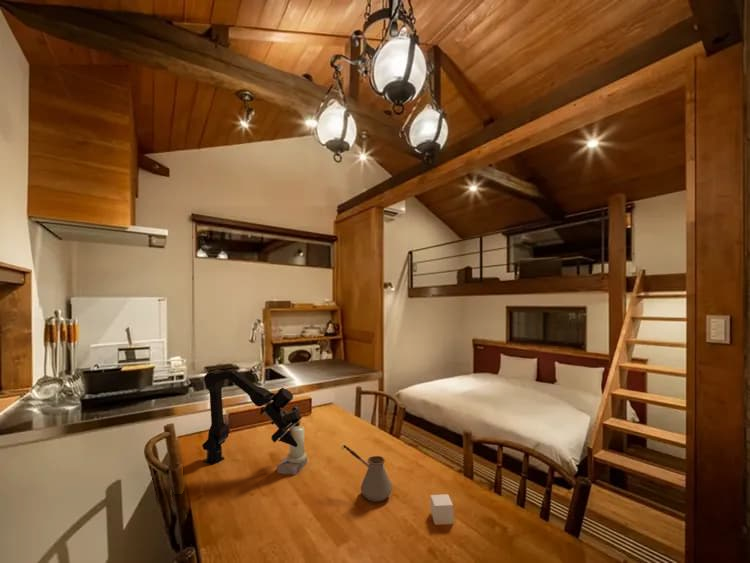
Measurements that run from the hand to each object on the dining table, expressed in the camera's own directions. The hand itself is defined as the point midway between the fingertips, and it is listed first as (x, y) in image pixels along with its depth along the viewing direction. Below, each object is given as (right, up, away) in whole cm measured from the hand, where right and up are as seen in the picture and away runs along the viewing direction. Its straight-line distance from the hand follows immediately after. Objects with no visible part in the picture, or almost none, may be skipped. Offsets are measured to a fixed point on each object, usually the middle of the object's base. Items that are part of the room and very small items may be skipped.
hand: (300, 443), depth 145 cm
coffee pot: (+28, -10, -18) cm, 35 cm away
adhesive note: (+54, -9, -34) cm, 64 cm away
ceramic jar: (-1, -7, 0) cm, 7 cm away
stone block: (-4, -11, +1) cm, 12 cm away
